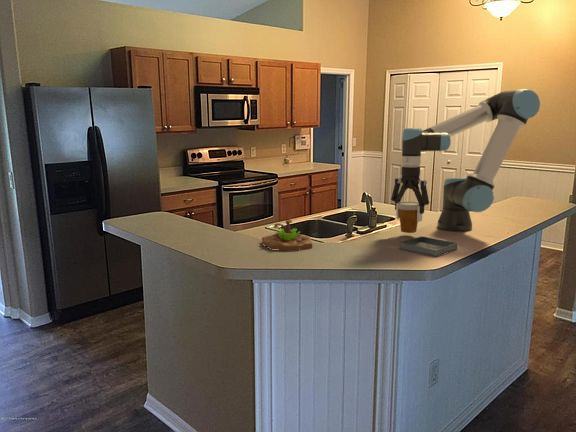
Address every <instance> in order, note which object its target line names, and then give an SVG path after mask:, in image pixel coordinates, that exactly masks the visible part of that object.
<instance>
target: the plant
mask: <svg viewBox="0 0 576 432" xmlns="http://www.w3.org/2000/svg"><path fill="white" fill-rule="evenodd" d="M292 223H293V220H292V218H288V219H286V220H285V224H286V226H285V225H284V224H282V223H275V224H273V229H274V228H275V229H277V228H278V226H280V228H279V229H278V231H274V232H275V233H274V234H270V235H266V236H264V237H263V236H262V237H261V245H262V244H264V245H265V246H267V247H269V248H271V249H279V250H298V251H300V250H299V249H303V250H307V249H306V248H310V249H313V241H312V238H311V237H310V236H309V235H306V234H302V233H301V231H297V230H298V229H297V228H296V227H295V228H292V229H291V224H292Z"/></svg>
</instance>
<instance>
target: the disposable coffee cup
mask: <svg viewBox="0 0 576 432" xmlns="http://www.w3.org/2000/svg"><path fill="white" fill-rule="evenodd" d="M418 206H419V203H418V201H401V202H399V205H398V208H399V216H400V218H399V224H400V232H401V233H407V234H414V233H416V232H417V229H418V223H419V222H417V208H418Z"/></svg>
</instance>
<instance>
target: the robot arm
mask: <svg viewBox="0 0 576 432" xmlns="http://www.w3.org/2000/svg"><path fill="white" fill-rule="evenodd" d="M540 108H541V101H540V98H539V95H538V94H537V93H536V92H535V91H534V90H532V89H530V88H527V89H526V88H520V89H514V90H512V89H511V90H505V91H501V92H499V93H496V94H494V95H492V96H490V97H488V98H486V99H484V100H482V101H480V102H479V103H478V105H476V106H474V107H472V108H470V109H468V110H466V111H464V112H461V113H459V114H457V115H455V116H453V117H450V118H448V119H446V120H443V121H441V122H439V123H436V124H435V125H433V126H430V127H428V128H425V129H422V128H420V127H413V128H412V127H411V128H410V127H409V128H407V127H406V128H404V129H403V131H402V137H401V138H402V139H401V140H402V141H401V143H402V144H401V147H402V148H401V152H402V154H401V167H400V168H401V170H400V172H401V174H400V175H401V178H400V177H398V178H394V187H393V189H392V194H391V198H390V200H391V202H392V201H393V202H394V210H395V211H396V212H395V213H396V214H395V215H396V216H395V219H400V216H399V208H398V205H399V203H400V202H402V198H403V197H404V195H405V192H406V191H407V190H408V189H410V190H412V192H414V195H415V198H416V200H417V203H419V206H418V208H417V222H418V223H419V222H422V221H423V214H425V206H428V205H430V201H429V194H428V189H427V180H421V178H420V175H421V167H420V166H421V162H422V160H421V158H422V154H421V153H422V152H443V151H448V150H449V148H450V146H451V142H452V141H451V140H452V139H451V137H454V136H456V135H458V134H460V133H462V132H464V131H467V130H469V129H472V128H473V127H475V126H478V125H479V124H483V123H484V122H486V123H490V122H493V121H496V120H498V121H497V124H496V126H495V127H494V130H493V132H492V133H491V136H490V137H489V141H488V142H487V144H486V146H485V148H484V150H483V152H482V154H481V156H480V159H479V160H478V163H477V164H476V166H475V169H474V171H473V173H471V174H468V175H467V176H466V177H455V178H454V177H452V178H450V177H449V178H448V177H447V178H445V179H444V181H443V185H442V187H443V191H442V192H443V193H442V197H443V198H442V211H441V212H440V215H439V217H438V220H437V228H438V229H441V230H445V231H451V232H467V231H472V230H473V222H472V219H471V218H472V217H471V214H470V212H471V213H472V212H473V213H482V212H484V211H486V210H488V209H489V208H490V207H491V206H492V204H493V202H494V199H495V196H494V188H495V184H494V179H495V178H496V176H497V174H498V172H499V170H500V168H501V165H502V164H503V161H504V160H505V158H506V155H507V153H509V150H510V147H511V145H512V143H513V142H514V139H515V138H516V136H517V134H518V132H519V130H520V129H521V128H524V127H525V126H526V125H527V123H528V120H529V119H531V118H533V117H535V116H536V115H537V114H538V113H539V111H540ZM401 183H402V184H401Z"/></svg>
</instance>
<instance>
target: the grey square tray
mask: <svg viewBox="0 0 576 432" xmlns="http://www.w3.org/2000/svg"><path fill="white" fill-rule="evenodd" d="M398 245H399V247H398V249H399V250H404V251H407V252H410V253H411V252H412V253H416V254H421V255H425V256H430V257H435V258H437V257H440V256H443V255H445V254H444V253H446V254H448V253H451V252H453V250H454V251H457V250H458V246H459V242H456V241H450V240H445V239H439V238H434V237H428V236H423V235H420V236H417V237H413V238H410V239H407V240H404V241H400V242H398ZM456 249H457V250H456ZM450 251H451V252H450ZM447 252H448V253H447ZM442 254H443V255H442ZM439 255H440V256H439Z"/></svg>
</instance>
